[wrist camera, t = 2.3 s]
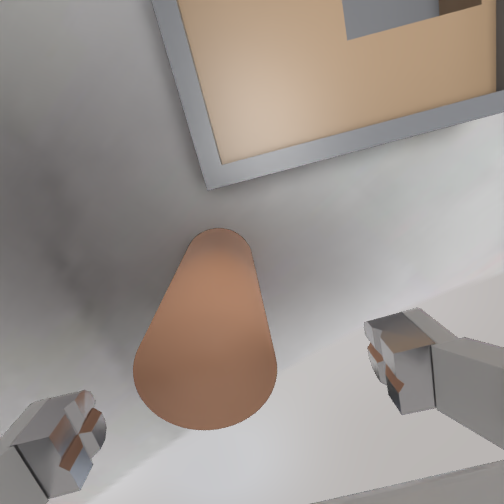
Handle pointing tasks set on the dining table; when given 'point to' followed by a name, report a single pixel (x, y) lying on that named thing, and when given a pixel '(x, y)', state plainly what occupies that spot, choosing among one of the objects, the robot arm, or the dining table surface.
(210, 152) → the bore box
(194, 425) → the peg
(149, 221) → the dining table surface
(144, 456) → the dining table surface
